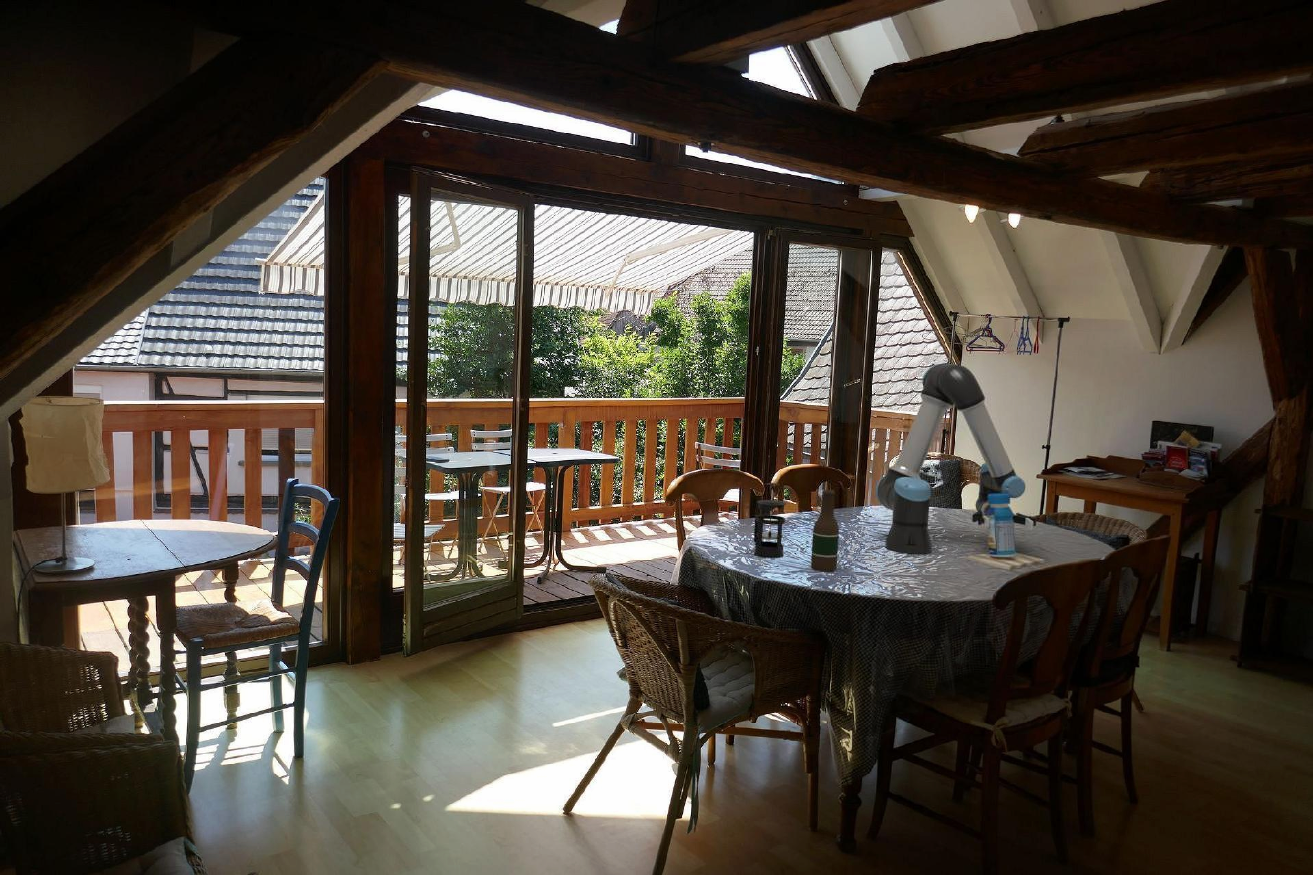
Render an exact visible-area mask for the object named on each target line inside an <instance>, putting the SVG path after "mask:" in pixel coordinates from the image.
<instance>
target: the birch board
mask: <svg viewBox="0 0 1313 875" xmlns="http://www.w3.org/2000/svg"><path fill="white" fill-rule="evenodd" d="M966 558H967V561H971V562H975V563H979V564H984V565H986V566H992V567H995V568H999V569H1004V570H1007V571H1010V570H1016V569H1020V568H1024V567H1029V566H1035V565H1039V564H1044V563H1045V559H1043V558H1039V557H1035V556H1030V555H1025V554H1020V553H1016V552H1015V556H1012V557H992V556H989V552H986V553H980V554H974V555H970V556H969V555H968V556H967V557H966Z"/></svg>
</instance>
